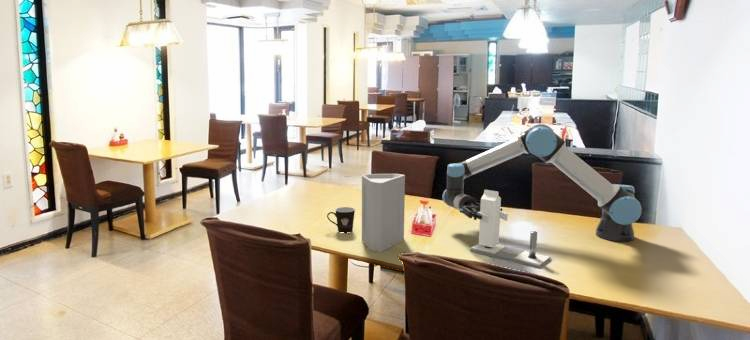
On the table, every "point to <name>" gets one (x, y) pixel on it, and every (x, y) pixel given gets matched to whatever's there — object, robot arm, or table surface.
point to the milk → (490, 219)
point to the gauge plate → (512, 255)
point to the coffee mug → (344, 219)
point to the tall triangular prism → (382, 210)
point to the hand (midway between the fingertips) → (497, 218)
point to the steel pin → (533, 244)
